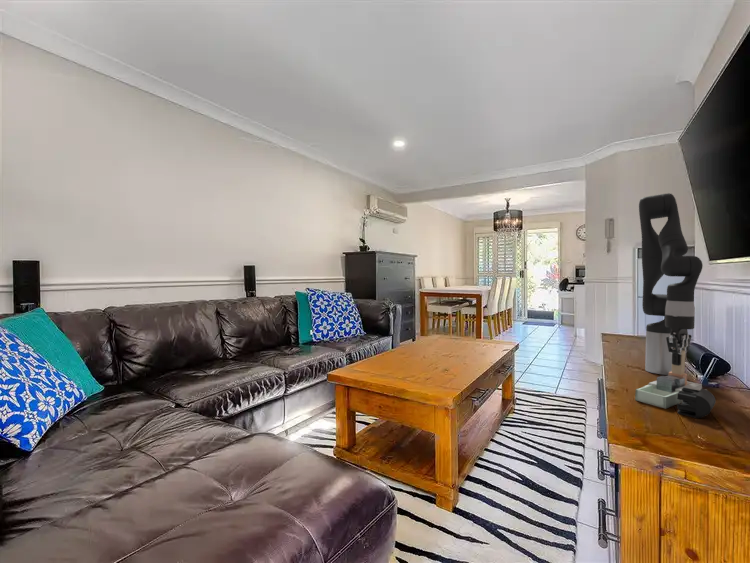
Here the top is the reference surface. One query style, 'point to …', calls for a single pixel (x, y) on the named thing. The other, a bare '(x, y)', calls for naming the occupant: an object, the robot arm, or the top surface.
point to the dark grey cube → (666, 384)
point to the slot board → (659, 392)
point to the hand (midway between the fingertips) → (678, 364)
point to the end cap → (695, 402)
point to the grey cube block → (678, 380)
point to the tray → (656, 397)
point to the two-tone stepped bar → (680, 368)
